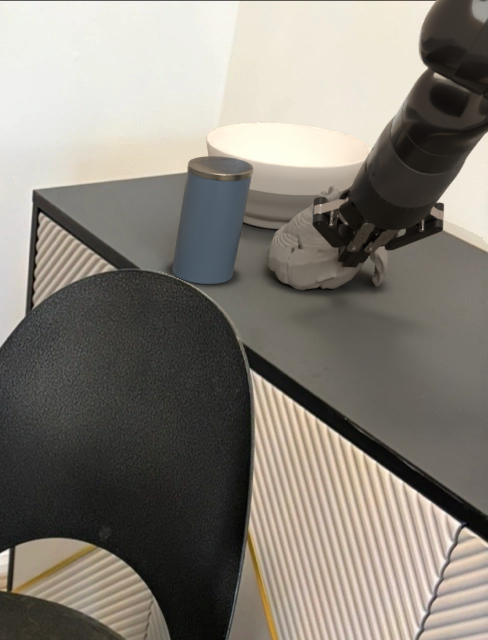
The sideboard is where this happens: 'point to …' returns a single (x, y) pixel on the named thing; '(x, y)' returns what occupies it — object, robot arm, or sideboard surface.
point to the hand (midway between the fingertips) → (348, 258)
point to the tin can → (211, 219)
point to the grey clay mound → (314, 254)
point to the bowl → (288, 165)
